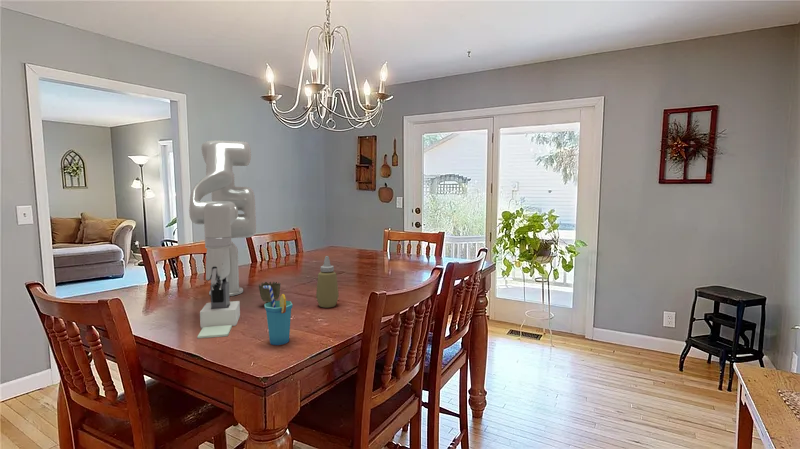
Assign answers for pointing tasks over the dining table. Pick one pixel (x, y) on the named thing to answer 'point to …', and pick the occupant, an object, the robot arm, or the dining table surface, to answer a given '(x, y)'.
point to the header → (220, 315)
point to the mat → (215, 331)
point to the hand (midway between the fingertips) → (220, 299)
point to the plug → (226, 297)
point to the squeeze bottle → (327, 285)
